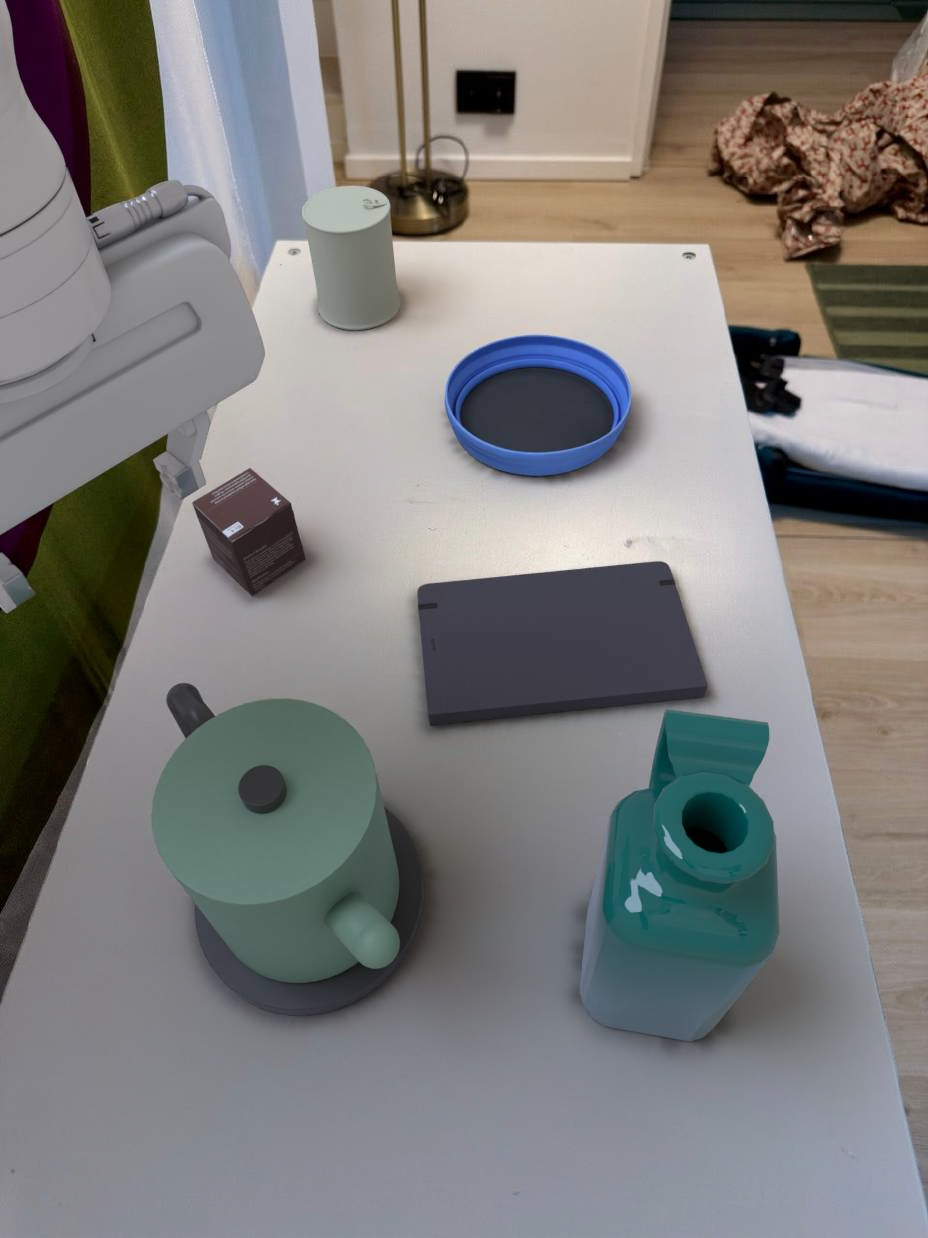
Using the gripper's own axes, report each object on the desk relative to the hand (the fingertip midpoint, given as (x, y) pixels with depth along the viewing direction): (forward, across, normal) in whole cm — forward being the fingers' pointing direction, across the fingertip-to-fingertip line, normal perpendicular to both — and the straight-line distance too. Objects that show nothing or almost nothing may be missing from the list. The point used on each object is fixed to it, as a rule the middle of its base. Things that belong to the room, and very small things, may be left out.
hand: (104, 539), depth 42 cm
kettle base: (+28, +1, +9) cm, 30 cm away
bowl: (+28, -46, -11) cm, 55 cm away
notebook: (+28, -26, +8) cm, 39 cm away
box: (+28, -16, -17) cm, 37 cm away
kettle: (+26, +1, +9) cm, 28 cm away
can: (+28, -47, -38) cm, 67 cm away
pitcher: (+28, -11, +28) cm, 41 cm away
